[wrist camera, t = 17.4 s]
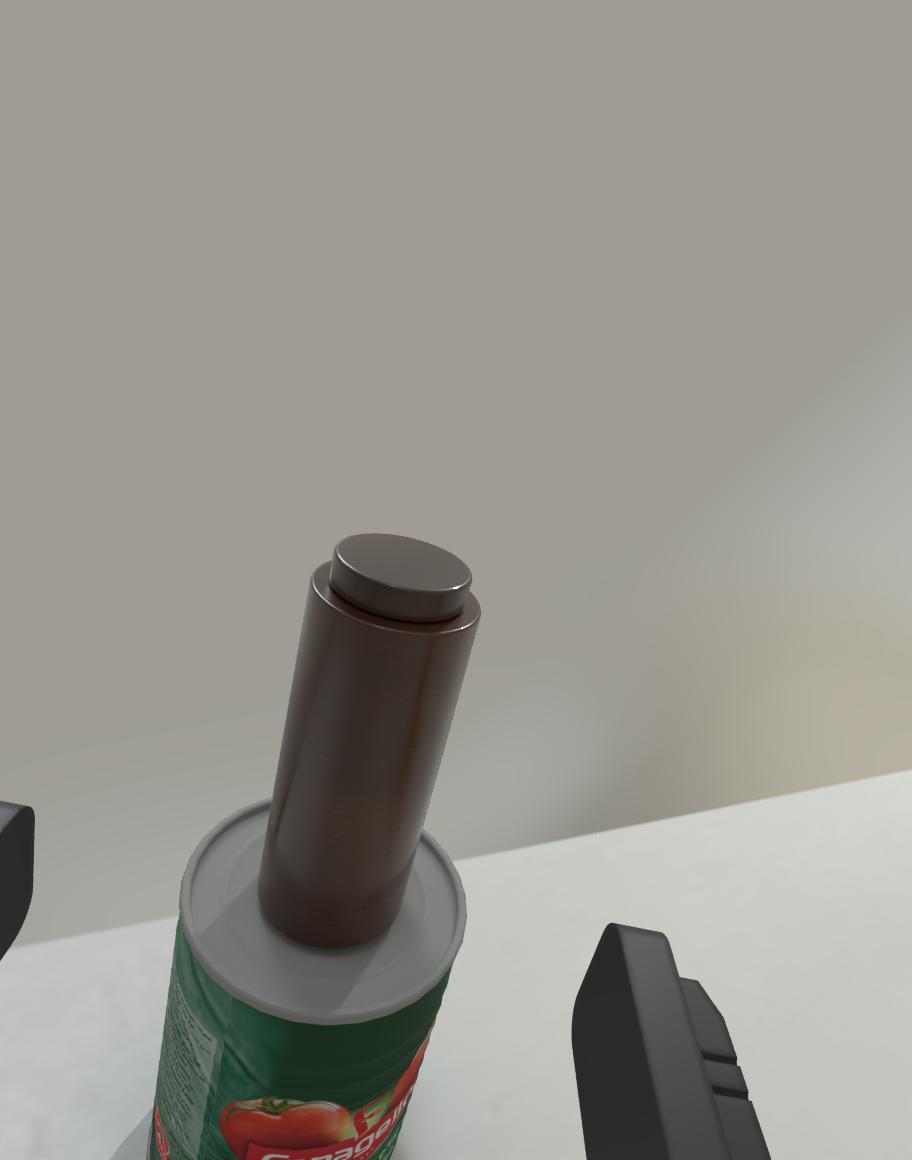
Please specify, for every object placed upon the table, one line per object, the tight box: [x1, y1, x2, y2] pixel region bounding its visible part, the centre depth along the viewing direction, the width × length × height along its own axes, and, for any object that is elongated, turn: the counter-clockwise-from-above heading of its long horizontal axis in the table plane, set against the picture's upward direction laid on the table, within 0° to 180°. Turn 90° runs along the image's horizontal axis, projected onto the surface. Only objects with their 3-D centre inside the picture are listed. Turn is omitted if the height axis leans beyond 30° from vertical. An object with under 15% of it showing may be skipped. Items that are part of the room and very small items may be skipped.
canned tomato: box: [147, 798, 467, 1160], centre depth 23 cm, size 8×8×11 cm
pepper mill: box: [257, 534, 481, 948], centre depth 19 cm, size 4×4×10 cm
